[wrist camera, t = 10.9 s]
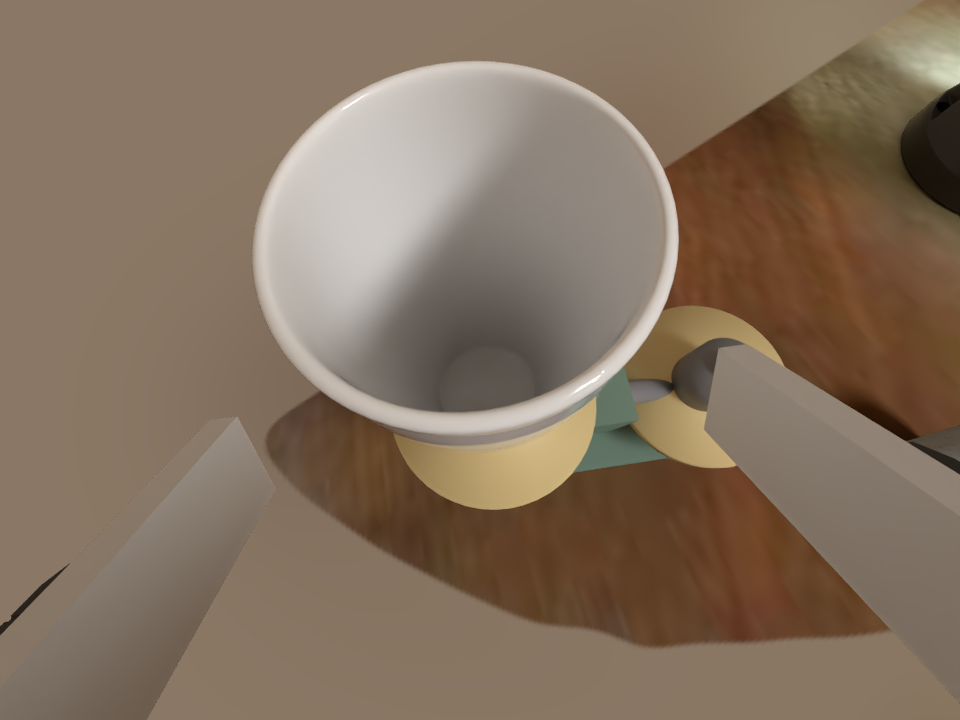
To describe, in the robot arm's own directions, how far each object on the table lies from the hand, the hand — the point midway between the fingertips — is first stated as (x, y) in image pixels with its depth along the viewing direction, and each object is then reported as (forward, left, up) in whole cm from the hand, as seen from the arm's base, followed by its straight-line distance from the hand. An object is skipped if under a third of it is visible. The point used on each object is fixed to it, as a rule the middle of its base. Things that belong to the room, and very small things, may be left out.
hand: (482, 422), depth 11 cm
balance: (-7, -2, -21) cm, 23 cm away
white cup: (0, -2, -9) cm, 10 cm away
